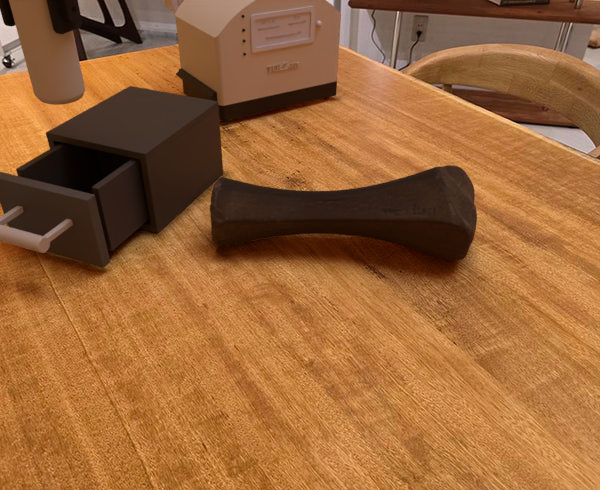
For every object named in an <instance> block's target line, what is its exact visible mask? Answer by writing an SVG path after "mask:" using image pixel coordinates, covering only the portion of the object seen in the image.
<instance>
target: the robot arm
mask: <svg viewBox="0 0 600 490" xmlns="http://www.w3.org/2000/svg"><path fill="white" fill-rule="evenodd" d="M47 4H48V9H49V13H50V17H51V21H52V26H53V30H54V31H55V32H56V33H57V34H64V33H67V32H70V31H72V30H73V31H74V30H77V29H79V28H81V27H82V26H83V19H82V15H81V8H80V4H79V0H47ZM0 15H1V18H2V22H3V24H4V25H5V26H6V27H16V25H15V21H14V17H13V14H12V10H11V6H10V3H9V0H0Z"/></svg>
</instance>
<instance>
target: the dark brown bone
mask: <svg viewBox="0 0 600 490" xmlns="http://www.w3.org/2000/svg"><path fill="white" fill-rule="evenodd" d="M475 197H476V196H475V187H474V184H473V181H472V180H471V178H470V177H469V176H468V173H467V172H466V171H465V169H463V168H462V167H459V166H457V165H453V164H452V165H444V166H442V165H441V166H435V167H432V168H431V167H430V168H429V169H426V170H423V171H420V172H417V173H414V174H410V175H407V176H404V177H400V178H397V179H393V180H389V181H385V182H380V183H377V184H372V185H371V184H370V185H367V186H361V187H357V188H356V187H355V188H347V189H336V190H296V189H286V188H285V189H284V188H276V187H271V186H263V185H259V184H253V183H249V182H244V181H240V180H237V179H232V178H229V177H223V176H220V177H219V178H218V179H217V180H216V181H215V182H214V184H213V187H212V190H211V195H210V205H209V211H210V212H209V216H210V226H211V228H210V229H211V231H210V232H211V233H210V234H211V241H212V244H213V245H215V246H218V247H230V246H237V245H241V244H245V243H249V242H254V241H259V240H264V239H269V238H270V239H271V238H275V237H277V238H278V237H285V236H295V235H316V234H317V235H339V236H351V237H360V238H366V239H371V240H372V239H373V240H377V241H383V242H386V243H391V244H394V245H399V246H402V247H406V248H409V249H412V250H415V251H417V252H421V253H424V254H426V255H430V256H433V257H435V258H438V259H441V260H444V261H447V262H456V261H457V262H458V261H462V260H464V259H466V258H467V256H468V253H469V250H470V247H471V245H472V243H473V241H474V239H475V234H476V230H477V221H478V213H477V207H476V205H475Z"/></svg>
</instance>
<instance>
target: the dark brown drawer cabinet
mask: <svg viewBox="0 0 600 490" xmlns="http://www.w3.org/2000/svg"><path fill="white" fill-rule="evenodd" d="M220 121H221V120H219V108H218V101H212V100H207V99H201V98H195V97H190V96H187V95H185V94H178V93H173V92H172V93H171V92H166V91H160V90H155V89H150V88H145V87H138V86H132V85H130V86H127V87H125V88H123V89H122V90H120V91H118V92H117V93H115V94H112V95H111V96H109V97H107V98H106V99H104V100H102V101H100V102H98V103H97V104H94V105H93V106H91V107H88V108H87V109H86V110H84V111H82V112H80V113H79V114H76V115H75V116H73V117H71V118H69V119H68V120H66V121H64V122H62V123H60V124H58V125H57V126H55V127H53V128H51V129H50V130H48V131H46V132H45V136H46V140H47V143H48V147H49V149H51V148H53V147H54V146H56V145H58V144H59V143H61V142H62V143H67V144H71V145H76V146H81V147H85V148H90V149H94V150H99V151H104V152H108V153H113V154H117V155H122V156H127V157H131V158H136V159H140V163H141V169H142V175H143V181H144V187H145V193H146V199H147V205H148V210H149V216H150V219H149V220H148V221H146V222H145V223H144V224H143V225H142V226H141V227H139V228H138V229H139V230H143V231H148V232H152V233H156V234H159V233H160V232H161V231H162V230H164V228H165V227H166V226H167V225H169V224H170V223H171V222H172V221H173V220H174V219H176V217H177V216H178V215H180V214H181V213H182V212H183V211H184V210H185V209H186V208H187V207H189V206H190V204H192V203H193V202H194V201H195V200H196V199H198V198H199V197H200V196H201V195H202V194H203V193H204V192H205V191H206V190H207V189H208V188H209V187H210V186H212V185H213V183H214V184H215V183H216V181H217V180H218V178H220V177H222V175H224V166H223V165H224V163H223V152H222V138H221V124H220V123H221V122H220Z"/></svg>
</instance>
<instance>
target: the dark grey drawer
mask: <svg viewBox="0 0 600 490" xmlns="http://www.w3.org/2000/svg"><path fill="white" fill-rule="evenodd" d="M15 172H16V175H15V174H11V173H8V172H4V171H3V172H2V171H0V206H1V210H2V212H3V215H1V216H0V242H2V243H6V244H9V245H13V246H17V247H19V248H23V249H26V250H30V251H34V252H37V253H41V254H44V253H49V254H51V255H55V256H59V257H62V258H66V259H69V260H73V261H76V262H80V263H83V264H87V265H89V266H94V267H97V268H102V269H104V268H106V267H107V266H108V265H109V264H110V263H111V258H110V255H109V252H113V251H115V249H116V248H118V247H119V246H120V245H121V244H122V243H123V242H125V241H126V240H128V238H129V237H130V236H131V235H133V234H134V233H135V232H136V231H137V230H138V229H139V227H141V226H142V225H143V224H144V223H145V222H146V221H148V220H149V219H150V216H149V210H148V205H147V199H146V193H145V187H144V181H143V175H142V169H141V163H140V159H136V158H131V157H127V156H122V155H117V154H113V153H108V152H104V151H99V150H94V149H90V148H85V147H81V146H76V145H71V144H67V143H62V142H61V143H59V144H58V145H56V146H54V147H53V148H51V149H50V148H49V149H47V150H46V151H43V152H42V153H41V154H39V155H37V156H36V157H33V158H31V159H30V160H28V161H27V162H26V163H23V164H22V165H21V166H18V167H17V168H16V169H15ZM6 224H7V225H6Z"/></svg>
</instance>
